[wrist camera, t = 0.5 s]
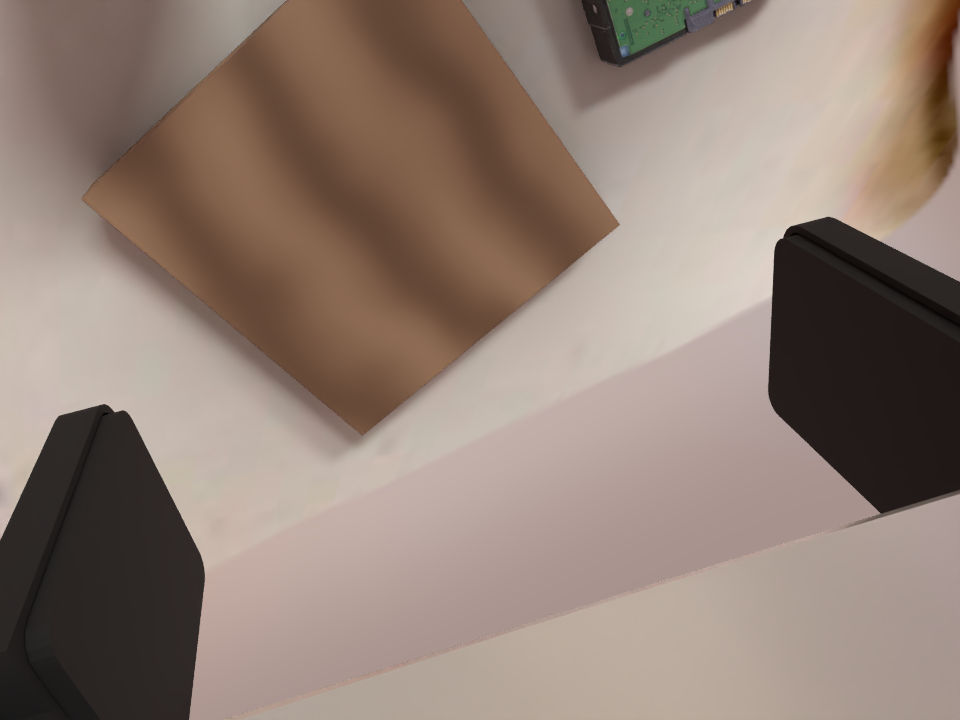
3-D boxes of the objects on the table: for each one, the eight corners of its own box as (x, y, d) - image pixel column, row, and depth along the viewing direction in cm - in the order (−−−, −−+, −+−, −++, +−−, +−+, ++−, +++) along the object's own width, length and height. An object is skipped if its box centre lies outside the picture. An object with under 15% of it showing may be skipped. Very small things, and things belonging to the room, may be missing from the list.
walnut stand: (384, -93, 33) (393, -96, 30) (598, 207, 42) (619, 224, 39) (95, 180, 35) (81, 199, 33) (357, 406, 44) (362, 435, 42)
